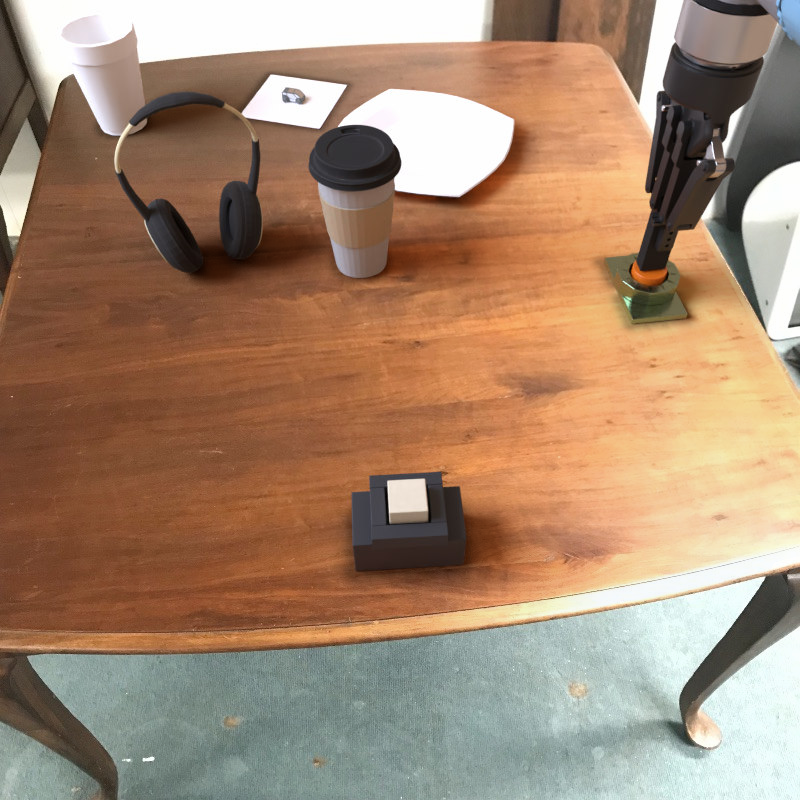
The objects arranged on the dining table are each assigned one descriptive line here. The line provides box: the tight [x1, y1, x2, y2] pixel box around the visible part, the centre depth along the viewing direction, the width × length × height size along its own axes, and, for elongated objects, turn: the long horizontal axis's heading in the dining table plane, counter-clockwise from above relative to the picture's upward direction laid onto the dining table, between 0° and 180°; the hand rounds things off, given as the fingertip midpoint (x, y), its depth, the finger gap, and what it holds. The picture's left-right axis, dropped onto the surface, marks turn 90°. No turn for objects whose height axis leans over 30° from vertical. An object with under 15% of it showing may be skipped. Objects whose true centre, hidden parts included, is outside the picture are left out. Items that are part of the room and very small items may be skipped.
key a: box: [387, 479, 428, 524], centre depth 61 cm, size 3×3×2 cm
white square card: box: [240, 74, 348, 130], centre depth 110 cm, size 12×12×2 cm
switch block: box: [603, 252, 688, 325], centre depth 84 cm, size 10×6×2 cm, turn 7°
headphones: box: [114, 90, 264, 274], centre depth 82 cm, size 9×15×20 cm, turn 112°
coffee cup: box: [308, 125, 402, 279], centre depth 83 cm, size 9×9×15 cm
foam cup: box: [55, 11, 148, 137], centre depth 102 cm, size 10×9×13 cm
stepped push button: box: [350, 471, 467, 572], centre depth 63 cm, size 9×6×6 cm, turn 93°
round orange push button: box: [630, 261, 667, 286], centre depth 83 cm, size 4×4×2 cm
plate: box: [337, 88, 516, 199], centre depth 102 cm, size 23×23×2 cm
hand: (650, 265), depth 83 cm, fingers closed
